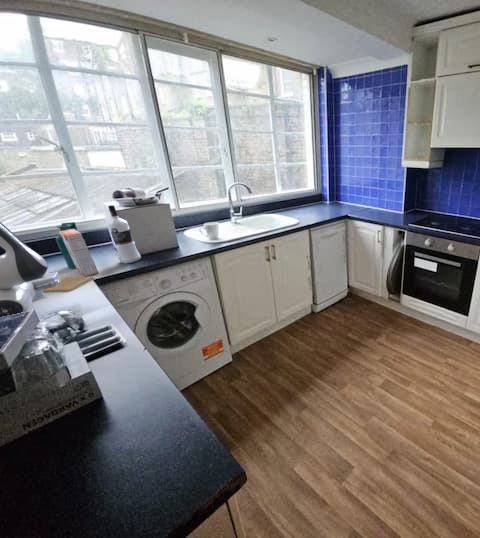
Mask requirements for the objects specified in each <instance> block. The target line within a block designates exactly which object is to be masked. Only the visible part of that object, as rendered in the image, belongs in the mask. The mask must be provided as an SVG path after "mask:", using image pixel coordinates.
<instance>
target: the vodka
mask: <svg viewBox="0 0 480 538" xmlns="http://www.w3.org/2000/svg"><path fill="white" fill-rule="evenodd" d="M107 208H108V210H109V213H110V215H111V219H110V220H109V221H108V222H107V228H108V230H109V232H110V234H111V238H112V240H113V242H114V246H115V248H116V250H117V254H118V257H119V258H118V260H119V262H120V263H121V264H133V263H136V262H138V261H140V260H141V259H142V256H141V254H140V253H139V250H138V248H137V246H136V241H134V237H133V235H132V232H131V229H130V226H129V223H128V221H127V220H126V219H123V218H120V216H119V215H118V211H117V209H116V207H115V205H114V204H113V205H111V204H110V205H108V206H107Z"/></svg>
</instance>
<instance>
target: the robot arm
mask: <svg viewBox="0 0 480 538" xmlns="http://www.w3.org/2000/svg"><path fill="white" fill-rule="evenodd" d="M0 247H1V248H2V249H3V250H4V251H5V253H3V254H1V255H0V317H2V316H7V315H12V314H17V313H21V312H25V313H27V312H28V310H29V309H30V307H31V305H32V304H33V302H32V300H33V298H34V296H35V294H36V291H39V290H44V289H48V288H52V287H55V286H57V285H58V284H59V283H60V282H61V280H62V278H61V276H60V274H59V273H58V272H55V271H53V272H48V273H47V271H48V268H49V265H48V263H47V261H46V260H45V259H44V257H43V256H41V255H40V253H37V252H36V251H35V250H34V249H32V248H31V247H29V245H27V244H26V243H25V242H24V241H23V240H21V239H20V238H19V237H18V236H17V235H16V234H14V232H12V231H11V230H10V229H9V228H8V227H7V226H5V224H3V223H2V222H1V221H0Z"/></svg>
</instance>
